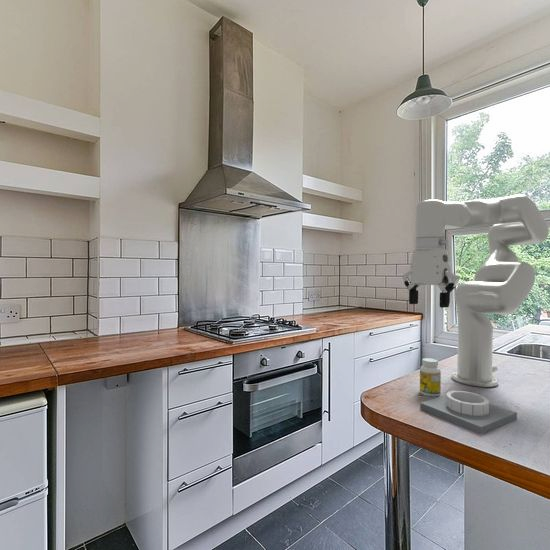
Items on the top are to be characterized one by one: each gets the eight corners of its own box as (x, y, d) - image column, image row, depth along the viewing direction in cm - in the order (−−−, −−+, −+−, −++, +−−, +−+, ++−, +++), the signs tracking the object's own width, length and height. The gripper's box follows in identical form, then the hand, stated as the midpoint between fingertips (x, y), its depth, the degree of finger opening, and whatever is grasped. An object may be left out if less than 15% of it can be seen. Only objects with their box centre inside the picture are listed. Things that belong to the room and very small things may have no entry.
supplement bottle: (444, 396, 93) (444, 362, 93) (426, 397, 92) (426, 362, 92) (433, 389, 98) (433, 357, 98) (416, 390, 97) (416, 357, 97)
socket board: (455, 397, 92) (456, 383, 92) (516, 418, 79) (517, 402, 79) (420, 408, 85) (420, 392, 85) (481, 434, 72) (481, 415, 72)
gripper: (467, 243, 88) (466, 308, 88) (412, 247, 103) (411, 302, 103) (450, 242, 85) (449, 309, 85) (395, 246, 100) (394, 303, 100)
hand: (428, 305), depth 94 cm, fingers open, 9 cm apart
